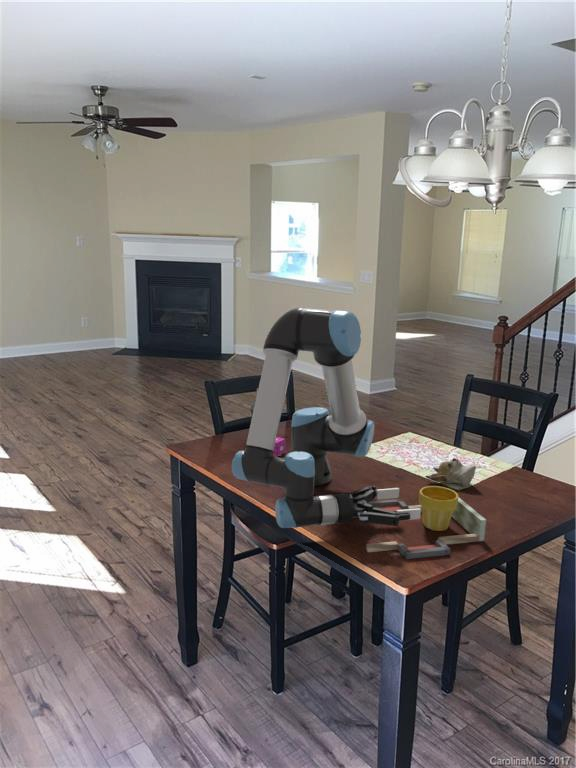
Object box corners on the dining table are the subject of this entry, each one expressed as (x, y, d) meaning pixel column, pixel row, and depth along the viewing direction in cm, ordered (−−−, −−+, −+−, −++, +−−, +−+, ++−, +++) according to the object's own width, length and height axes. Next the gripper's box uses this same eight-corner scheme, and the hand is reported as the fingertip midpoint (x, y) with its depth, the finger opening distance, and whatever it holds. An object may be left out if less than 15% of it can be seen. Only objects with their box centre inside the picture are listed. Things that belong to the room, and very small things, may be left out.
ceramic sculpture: (472, 466, 192) (425, 459, 199) (471, 492, 194) (424, 485, 201) (479, 456, 201) (434, 450, 208) (478, 481, 203) (433, 475, 210)
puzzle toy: (263, 455, 223) (264, 440, 222) (272, 450, 228) (272, 436, 227) (277, 458, 220) (277, 443, 219) (285, 453, 225) (285, 438, 224)
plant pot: (449, 517, 176) (452, 485, 174) (460, 534, 166) (463, 500, 164) (413, 517, 176) (415, 485, 174) (422, 534, 166) (424, 500, 163)
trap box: (341, 516, 175) (342, 496, 174) (446, 507, 183) (448, 488, 181) (368, 552, 155) (369, 530, 154) (484, 540, 163) (486, 519, 162)
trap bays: (362, 506, 182) (362, 502, 182) (400, 503, 185) (400, 498, 184) (405, 559, 153) (406, 553, 152) (450, 554, 155) (450, 549, 155)
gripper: (319, 502, 175) (389, 497, 180) (349, 544, 151) (428, 536, 156) (320, 478, 173) (391, 472, 178) (351, 516, 150) (431, 509, 155)
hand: (408, 502), depth 167 cm, fingers open, 13 cm apart
